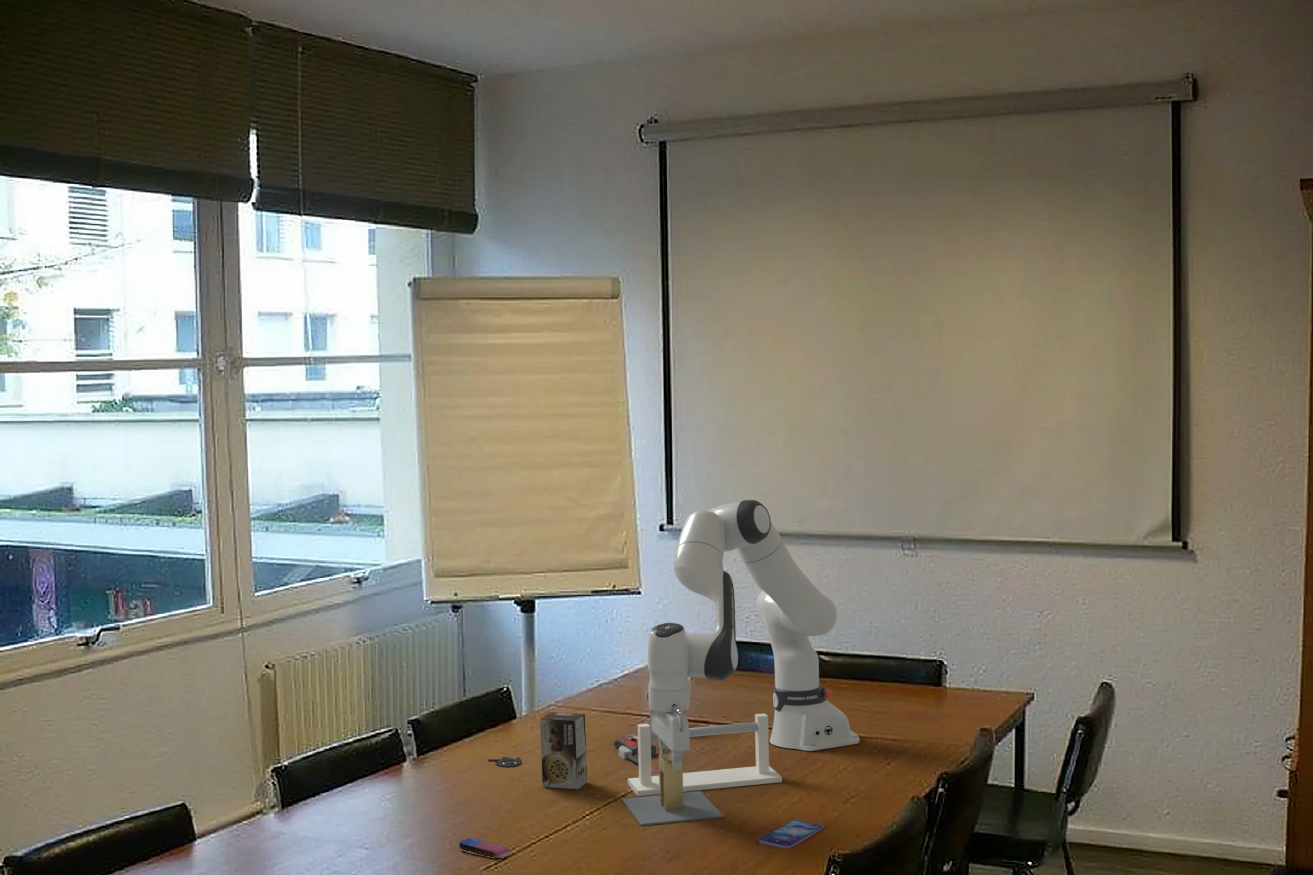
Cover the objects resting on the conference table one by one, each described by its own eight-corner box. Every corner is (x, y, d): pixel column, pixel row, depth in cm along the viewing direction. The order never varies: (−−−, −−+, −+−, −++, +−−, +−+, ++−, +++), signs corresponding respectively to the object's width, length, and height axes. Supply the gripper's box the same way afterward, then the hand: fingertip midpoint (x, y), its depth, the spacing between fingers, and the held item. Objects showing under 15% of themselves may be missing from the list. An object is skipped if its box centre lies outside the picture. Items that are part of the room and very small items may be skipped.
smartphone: (825, 825, 295) (789, 846, 282) (825, 830, 295) (789, 851, 282) (793, 819, 299) (757, 839, 286) (793, 823, 299) (757, 844, 287)
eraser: (513, 856, 283) (513, 847, 283) (499, 862, 280) (499, 853, 280) (470, 844, 289) (470, 836, 289) (457, 850, 286) (457, 842, 286)
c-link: (677, 802, 312) (676, 753, 312) (683, 809, 307) (682, 759, 307) (659, 804, 311) (658, 754, 311) (665, 811, 306) (664, 760, 306)
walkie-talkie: (606, 749, 359) (636, 769, 341) (605, 732, 359) (636, 751, 341) (638, 744, 363) (670, 764, 345) (637, 727, 363) (669, 746, 344)
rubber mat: (700, 792, 320) (700, 791, 320) (723, 817, 303) (723, 815, 303) (622, 800, 316) (622, 798, 316) (640, 825, 298) (640, 824, 298)
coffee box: (588, 782, 330) (586, 713, 330) (577, 790, 324) (575, 720, 323) (552, 779, 333) (550, 711, 333) (541, 787, 327) (539, 717, 326)
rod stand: (768, 770, 337) (766, 709, 336) (781, 782, 327) (780, 719, 326) (627, 783, 328) (626, 721, 328) (637, 796, 319) (636, 731, 318)
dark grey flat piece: (482, 763, 349) (482, 760, 349) (506, 757, 355) (506, 754, 355) (507, 770, 343) (507, 767, 343) (531, 763, 348) (531, 760, 348)
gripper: (696, 709, 299) (697, 774, 299) (671, 688, 318) (673, 749, 319) (667, 712, 297) (668, 777, 298) (644, 690, 317) (645, 752, 318)
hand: (670, 763), depth 309 cm, fingers open, 8 cm apart
